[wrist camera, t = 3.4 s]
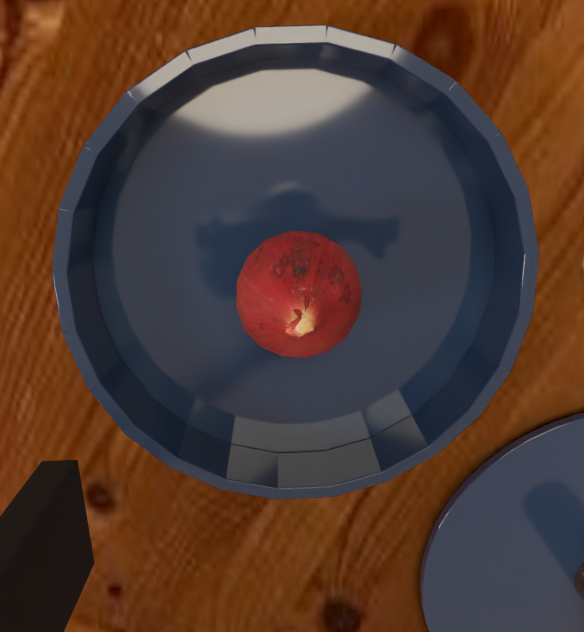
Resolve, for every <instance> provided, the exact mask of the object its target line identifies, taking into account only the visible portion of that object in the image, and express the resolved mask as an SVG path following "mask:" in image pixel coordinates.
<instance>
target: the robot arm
mask: <svg viewBox="0 0 584 632" xmlns="http://www.w3.org/2000/svg"><path fill="white" fill-rule="evenodd" d="M93 565H94V558H93V552H92V545H91V539H90V533H89V527H88V521H87V515H86V509H85V503H84V497H83V491H82V485H81V479H80V473H79V467H78V461H77V460H65V461H42V462H41V463H40V465H39V466H38V467H37V469H36V470H35V471H34V473H33V474H32V475H31V477H30V478H29V479H28V481H27V482H26V483H25V485H24V486H23V487H22V489H21V490H20V491H19V492H18V494H17V495H16V496H15V498H14V499H13V500H12V502H11V503H10V504H9V506H8V507H7V508H6V510H5V511H4V512H3V514H2V515H1V516H0V632H64V630H65V628H66V626H67V623H68V621H69V619H70V617H71V614H72V612H73V610H74V608H75V605H76V603H77V601H78V599H79V596H80V594H81V592H82V590H83V587H84V585H85V583H86V581H87V578H88V576H89V574H90V572H91V569H92V567H93Z"/></svg>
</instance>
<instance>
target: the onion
mask: <svg viewBox="0 0 584 632" xmlns="http://www.w3.org/2000/svg"><path fill="white" fill-rule="evenodd" d="M361 299H362V290H361V285H360V280H359V275H358V270H357V267H356V265H355V264H354V263H353V261H352V260H351V258H350V257H349V256H348V254H347V253H346V251H345V250H344V249H343V247H341V246H340V245H338V244H336V243H335V242H333V241H331V240H330V239H328V238H327V237H325V236H323V235H322V234H320V233H313V232H303V231H294V230H291V231H288V232H285V233H282V234H279V235H277V236H274V237H271V238H268V239H265V240H264V241H263V242H262V243H261V244H260V245H259V246H258V247H257V248H256V249H255V250H254V251H253V252H252V253H251V254H250V255H249V256H248V257H247V259H246V261H245V263H244V265H243V268H242V270H241V272H240V275H239V277H238V279H237V309H238V312H239V316H240V319H241V322H242V325H243V328H244V330H245V331H246V332H247V333H248V334H249V335H250V336H251V337H252V338H253V339H254V340H255V341H256V342H257V343H258V344H259V345H260V346H261V347H262V348H264V349H266V350H269V351H271V352H273V353H276V354H278V355H280V356H283V357H296V358H308V357H312V356H315V355H318V354H322V353H325V352H328V351H329V350H331V349H332V348H333V347H335V346H336V345H337V344H339V343H340V342H341V341H343V340H344V339H345V338H346V337H347V336H348V334H349V333H350V331H351V329H352V327H353V326H354V324H355V322H356V320H357V319H358V317H359V313H360V306H361Z"/></svg>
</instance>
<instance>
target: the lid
mask: <svg viewBox="0 0 584 632" xmlns="http://www.w3.org/2000/svg"><path fill="white" fill-rule="evenodd" d="M420 600H421V605H422V610H423V615H424V619H425V622H426V625H427V627H428V630H429V632H584V413H579V414H575V415H572V416H569V417H566V418H564V419H561V420H558V421H555V422H552V423H549V424H547V425H545V426H543V427H541V428H538V429H536V430H534V431H532V432H530V433H528V434H526V435H524V436H522V437H521V438H519V439H517V440H516V441H514V442H512V443H511V444H509V445H507V446H506V447H504V448H503V449H501V450H500V451H499V452H497V453H496V454H495V455H494V456H492V457H491V458H490V459H488V460H487V461H486V462H484V463H483V464H482V465H481V466H480V467H479V468H478V469H477V470H476V471H475V472H474V473H473V474H472V475H471V476H470V477H469V478H468V479H467V480H465V481H464V483H463V484H462V485H461V486H460V488H459V489H458V490H457V491H456V493H455V494H454V495H453V496H452V497H451V499H450V500H449V501H448V503H447V505H446V506H445V508H444V509H443V511H442V513H441V514H440V516H439V518H438V519H437V521H436V523H435V526H434V528H433V530H432V532H431V535H430V537H429V539H428V542H427V546H426V549H425V553H424V556H423V560H422V567H421V575H420Z"/></svg>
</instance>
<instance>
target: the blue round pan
mask: <svg viewBox="0 0 584 632" xmlns="http://www.w3.org/2000/svg"><path fill="white" fill-rule="evenodd" d="M528 191H529V190H528V187H527V185H526V183H525V181H524V179H523V177H522V175H521V173H520V170H519V168H518V166H517V164H516V162H515V160H514V158H513V156H512V153H511V151H510V149H509V147H508V145H507V143H506V141H505V139H504V136H503V134H502V132H500V130H499V128H498V127H497V126H496V125H495V124H494V123H493V122H492V121H491V119H490V118H489V117H488V116H487V115H486V114H485V113H484V112H483V110H482V109H481V108H480V107H479V106H478V105H477V104H476V102H475V101H474V100H473V99H472V98H471V97H470V96H469V95H468V93H467V92H466V91H465V90H464V89H463V88H462V87H461V86H460V84H459V83H458V82H457V81H455V80H454V79H453V78H451V77H449V76H448V75H446V74H445V73H443V72H441V71H440V70H438V69H437V68H435V67H433V66H432V65H430V64H429V63H427V62H425V61H424V60H422V59H421V58H419V57H417V56H416V55H414V54H412V53H411V52H409V51H408V50H406V49H404V48H403V47H401V46H400V45H398V44H395V43H392V42H389V41H385V40H381V39H378V38H374V37H370V36H367V35H363V34H359V33H355V32H352V31H348V30H344V29H341V28H337V27H333V26H330V25H328V26H327V25H296V26H261V27H255V28H250V29H246V30H243V31H240V32H237V33H234V34H231V35H228V36H225V37H222V38H219V39H216V40H213V41H210V42H207V43H204V44H201V45H198V46H195V47H192V48H189V49H187V50H185V51H183V52H181V53H180V54H179V55H177V56H176V57H174V58H173V59H171V60H170V61H169V62H167V63H166V64H164V65H163V66H161V67H160V68H159V69H157V70H156V71H154V72H153V73H151V74H150V75H149V76H147V77H146V78H144V79H143V80H141V81H140V82H139V83H137V84H136V85H134V86H133V87H131V88H130V89H129V90H128V91H126V92H125V94H124V95H123V96H122V97H121V99H120V100H119V101H118V102H117V104H116V105H115V106H114V107H113V109H112V110H111V111H110V112H109V114H108V115H107V116H106V118H105V119H104V120H103V121H102V123H101V124H100V125H99V126H98V128H97V129H96V130H95V131H94V133H93V134H92V135H91V136H90V138H89V139H88V140H87V141H86V143H85V144H84V146H83V148H82V151H81V153H80V156H79V158H78V161H77V163H76V165H75V168H74V170H73V173H72V175H71V178H70V180H69V183H68V185H67V188H66V190H65V192H64V195H63V197H62V200H61V202H60V205H59V207H60V208H59V209H58V219H57V228H56V237H55V247H54V256H53V266H52V271H53V272H52V275H53V281H54V287H55V293H56V299H57V305H58V311H59V317H60V323H61V329H62V332H63V336H64V338H65V340H66V342H67V344H68V347H69V349H70V351H71V353H72V355H73V357H74V360H75V362H76V364H77V366H78V368H79V371H80V373H81V375H82V377H83V379H84V381H85V384H86V386H87V387H88V389H89V390H90V391H91V393H92V394H93V395H94V396H95V398H96V399H97V400H98V401H99V403H100V404H101V405H102V406H103V407H104V409H105V410H106V411H107V412H108V414H109V415H110V416H111V417H112V418H113V420H114V421H115V422H116V423H117V425H118V426H119V427H120V428H121V430H122V431H123V432H125V434H126V435H127V436H129V437H130V438H131V439H133V440H134V441H135V442H137V443H138V444H139V445H141V446H142V447H143V448H145V449H146V450H147V451H149V452H150V453H151V454H153V455H154V456H155V457H157V458H158V459H159V460H161V461H162V462H163V463H165V464H166V465H167V466H169V467H170V468H172V469H175V470H177V471H179V472H182V473H184V474H186V475H189V476H191V477H193V478H195V479H198V480H200V481H202V482H205V483H207V484H209V485H212V486H214V487H216V488H219V489H222V490H226V491H232V492H237V493H243V494H249V495H254V496H260V497H265V498H271V499H298V498H319V497H332V496H337V495H341V494H345V493H348V492H352V491H355V490H359V489H363V488H366V487H370V486H373V485H377V484H381V483H384V482H386V481H389V480H391V479H393V478H394V477H396V476H398V475H400V474H402V473H404V472H406V471H407V470H409V469H411V468H413V467H415V466H417V465H419V464H420V463H422V462H424V461H426V460H428V459H430V458H431V457H433V456H435V454H438V453H439V452H440V451H441V450H442V449H443V448H444V447H445V446H447V445H448V444H449V443H450V442H451V441H452V440H453V439H454V438H456V437H457V436H458V435H459V434H460V433H461V432H462V431H464V430H465V429H466V428H467V427H468V426H469V425H470V424H471V423H473V422H474V421H475V420H476V419H477V418H478V417H479V416H480V415H481V413H482V412H483V410H484V409H485V407H486V406H487V404H488V403H489V402H490V400H491V399H492V397H493V396H494V394H495V393H496V392H497V390H498V389H499V387H500V386H501V384H502V383H503V381H504V380H505V379H506V377H507V376H508V374H509V373H510V371H511V369H512V367H513V365H514V362H515V359H516V357H517V354H518V351H519V349H520V346H521V343H522V341H523V338H524V335H525V333H526V330H527V328H528V325H529V322H530V320H531V317H532V313H533V307H534V297H535V288H536V278H537V269H538V259H539V250H538V244H537V238H536V232H535V226H534V220H533V214H532V207H531V201H530V195H529V192H528ZM291 230H294V231H303V232H313V233H320V234H322V235H323V236H325V237H327V238H328V239H330V240H331V241H333V242H335V243H336V244H338V245H340V246H341V247H343V249H344V250H345V251H346V253H347V254H348V256H349V257H350V258H351V260H352V261H353V263H354V264H355V265H356V267H357V270H358V275H359V280H360V285H361V290H362V299H361V306H360V313H359V317H358V319H357V320H356V322H355V324H354V326H353V327H352V329H351V331H350V333H349V334H348V336H347V337H346V338H345V339H344V340H343V341H341V342H340V343H339V344H337V345H336V346H335V347H333V348H332V349H331V350H329V351H328V352H325V353H322V354H318V355H315V356H312V357H308V358H296V357H283V356H280V355H278V354H276V353H273V352H271V351H269V350H266V349H264V348H262V347H261V346H260V345H259V344H258V343H257V342H256V341H255V340H254V339H253V338H252V337H251V336H250V335H249V334H248V333H247V332H246V331H245V330H244V328H243V325H242V322H241V319H240V316H239V312H238V309H237V279H238V277H239V275H240V272H241V270H242V268H243V265H244V263H245V261H246V259H247V257H248V256H249V255H250V254H251V253H252V252H253V251H254V250H255V249H256V248H257V247H258V246H259V245H260V244H261V243H262V242H263V241H264V240H265V239H268V238H271V237H274V236H277V235H279V234H282V233H285V232H288V231H291Z"/></svg>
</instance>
